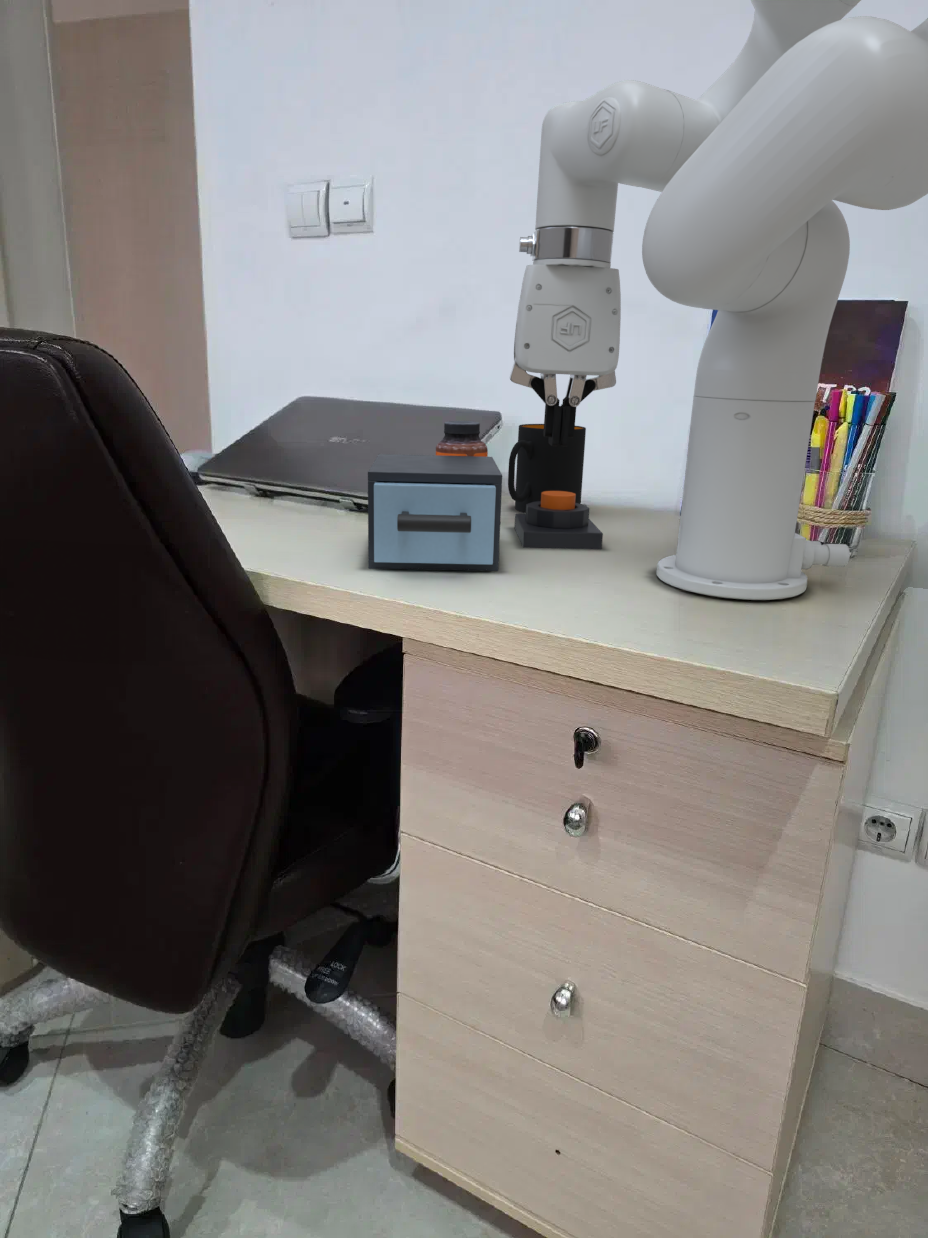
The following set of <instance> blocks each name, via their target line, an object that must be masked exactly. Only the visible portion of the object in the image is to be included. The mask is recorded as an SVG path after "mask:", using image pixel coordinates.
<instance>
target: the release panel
mask: <svg viewBox="0 0 928 1238" xmlns="http://www.w3.org/2000/svg"><path fill="white" fill-rule="evenodd" d="M514 530H515V532H516V535H517V537H518V539H519V542H520V544H521V546H522V548H524V549H563V550H566V549H567V550H568V549H569V550H602V549H603V538H604V537H603V536H604V535H603V534H604V533H603V532H602V531H601V529H599V528H598V526H596V525H595V523H593V521H592V520H591V519H590V506H589V505H587V504H583V503H581V504H579V503H575V509H568V510H558V509H547V508H542V507H541V501H538V502H532V503H529V504H526V513H515V514H514Z"/></svg>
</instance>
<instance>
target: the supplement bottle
mask: <svg viewBox="0 0 928 1238" xmlns="http://www.w3.org/2000/svg"><path fill="white" fill-rule="evenodd" d="M480 427H481V423H480V422H478V421H474V420H449V421H448V420H447V421H445V422H444V425H443V429H444V430H443V434H444V436H443V437H442V438H441V440H440V441H439V442H438V443H437V444H436V446H435V455H441V456H480V457H489V456H488V455H489V451H488V449H489V448H488V446H487V444H486V443H485V442H484V441H482V439H481V438H480V434H481V430H480Z"/></svg>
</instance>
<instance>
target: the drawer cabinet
mask: <svg viewBox="0 0 928 1238" xmlns="http://www.w3.org/2000/svg"><path fill="white" fill-rule="evenodd" d="M385 481H392V482H434V483H475V484H486V485H495V487H496V497H495V522H494V547H493V564H492V565H488V564H439V563H390V562H374V484H375V482H376V483H384V482H385ZM502 492H503V473H502V472H501V470H500V469H499V466H498V465H497V463H496V461H495V459H494V458H493V456H488V457H480V456H441V455H436V454H401V453H399V454H397V453H396V454H395V453H378V454H377V456H376V457H375V459H374V461H373V462H372V464H371V465H370V467H369V469H368V470H367V533H368V534H367V544H368V545H367V547H368V548H367V550H368V551H367V555H368V557H367V560H368V561H367V562H368V563H367V564H368V567H367V568H368V569H370V570H371V569H373V570H374V569H376V570H377V569H378V570H420V571H421V570H425V571H426V570H427V571H469V572H470V571H471V572H472V571H473V572H474V571H475V572H478V571H479V572H499V561H500V541H501V539H500V538H501V516H502V514H501V513H502Z"/></svg>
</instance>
